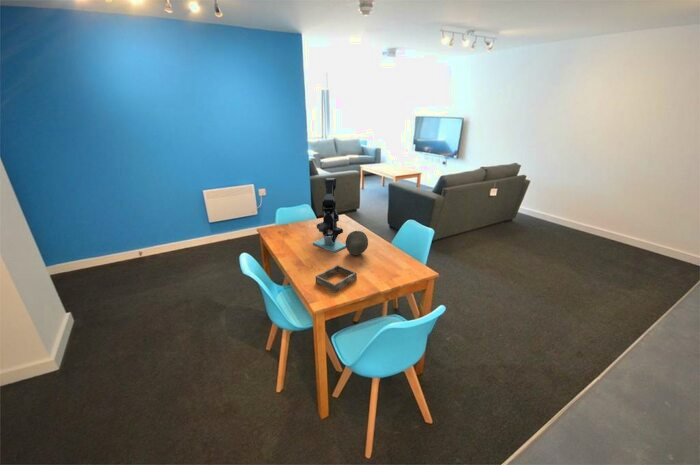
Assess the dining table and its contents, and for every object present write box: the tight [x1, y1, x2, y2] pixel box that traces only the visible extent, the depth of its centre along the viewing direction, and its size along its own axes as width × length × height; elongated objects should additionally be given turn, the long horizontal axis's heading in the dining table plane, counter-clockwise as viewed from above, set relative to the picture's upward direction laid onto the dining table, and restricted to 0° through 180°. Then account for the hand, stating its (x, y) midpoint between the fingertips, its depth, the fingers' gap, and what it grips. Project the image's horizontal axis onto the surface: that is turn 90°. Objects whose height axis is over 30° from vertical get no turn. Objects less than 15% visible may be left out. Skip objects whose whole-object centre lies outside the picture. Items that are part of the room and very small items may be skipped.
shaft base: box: [312, 237, 347, 253], centre depth 196 cm, size 12×20×5 cm, turn 49°
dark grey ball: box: [345, 230, 369, 256], centre depth 181 cm, size 14×14×15 cm
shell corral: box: [315, 264, 358, 293], centre depth 154 cm, size 16×14×4 cm
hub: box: [323, 232, 335, 244], centre depth 195 cm, size 7×7×5 cm
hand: (329, 240), depth 196 cm, fingers closed on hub, 7 cm apart
